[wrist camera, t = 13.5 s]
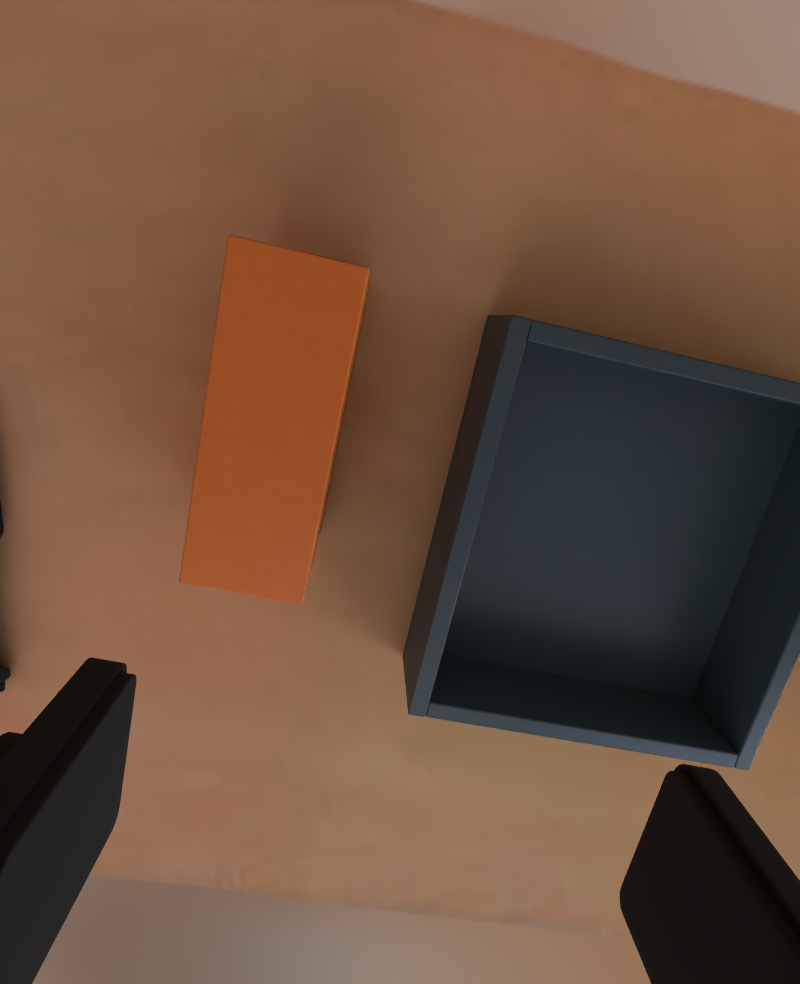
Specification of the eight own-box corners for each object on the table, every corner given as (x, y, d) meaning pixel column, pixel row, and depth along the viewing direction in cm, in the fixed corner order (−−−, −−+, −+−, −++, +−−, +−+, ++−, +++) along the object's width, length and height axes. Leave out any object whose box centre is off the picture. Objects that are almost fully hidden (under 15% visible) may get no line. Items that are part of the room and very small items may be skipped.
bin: (820, 393, 30) (907, 408, 25) (696, 707, 34) (749, 771, 30) (487, 314, 28) (511, 314, 23) (402, 656, 33) (408, 714, 28)
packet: (369, 281, 28) (369, 268, 20) (319, 532, 31) (302, 605, 23) (268, 257, 27) (227, 234, 19) (227, 515, 30) (178, 583, 22)
